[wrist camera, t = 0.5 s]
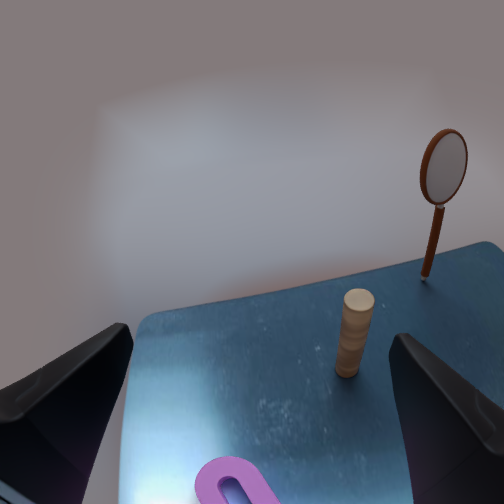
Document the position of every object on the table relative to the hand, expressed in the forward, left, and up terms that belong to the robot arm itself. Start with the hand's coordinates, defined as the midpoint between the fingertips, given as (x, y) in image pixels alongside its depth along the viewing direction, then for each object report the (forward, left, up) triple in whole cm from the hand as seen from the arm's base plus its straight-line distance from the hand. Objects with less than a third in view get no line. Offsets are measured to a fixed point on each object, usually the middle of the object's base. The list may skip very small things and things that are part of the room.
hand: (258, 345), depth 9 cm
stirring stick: (+9, -6, -18) cm, 22 cm away
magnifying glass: (+20, -19, -19) cm, 34 cm away
